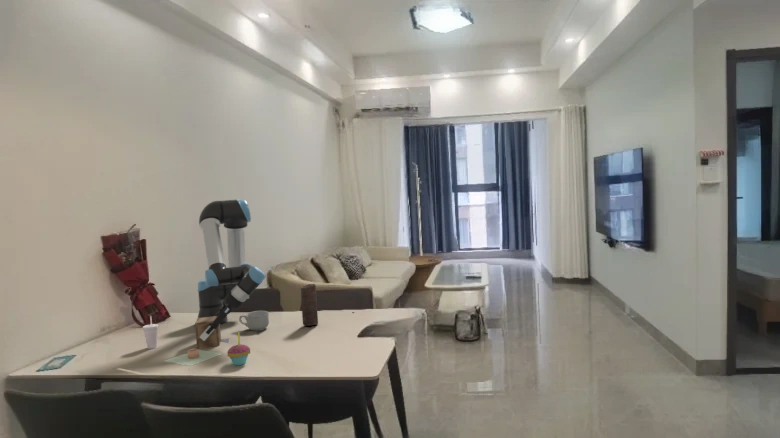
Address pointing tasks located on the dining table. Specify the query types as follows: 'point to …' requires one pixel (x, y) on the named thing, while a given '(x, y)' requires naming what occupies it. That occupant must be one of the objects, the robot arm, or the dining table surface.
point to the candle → (309, 305)
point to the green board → (185, 361)
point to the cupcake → (238, 353)
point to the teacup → (256, 320)
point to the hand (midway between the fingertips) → (203, 335)
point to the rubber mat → (225, 340)
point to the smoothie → (151, 334)
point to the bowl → (193, 353)
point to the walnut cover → (213, 338)
